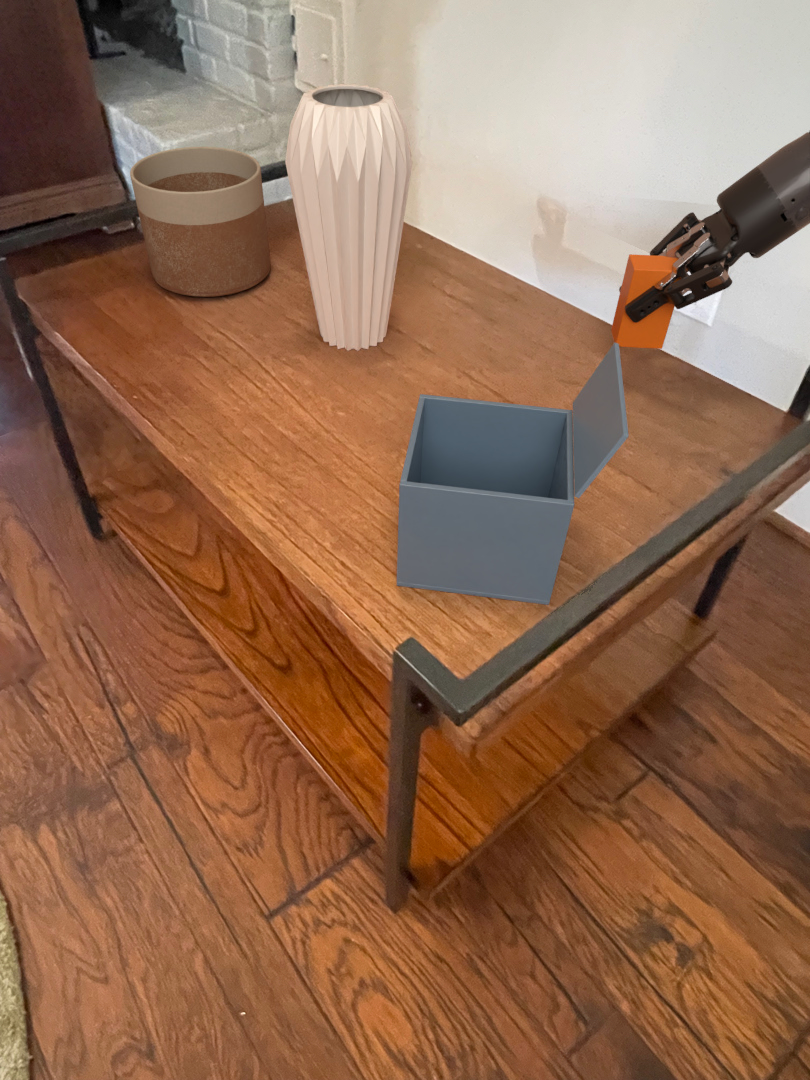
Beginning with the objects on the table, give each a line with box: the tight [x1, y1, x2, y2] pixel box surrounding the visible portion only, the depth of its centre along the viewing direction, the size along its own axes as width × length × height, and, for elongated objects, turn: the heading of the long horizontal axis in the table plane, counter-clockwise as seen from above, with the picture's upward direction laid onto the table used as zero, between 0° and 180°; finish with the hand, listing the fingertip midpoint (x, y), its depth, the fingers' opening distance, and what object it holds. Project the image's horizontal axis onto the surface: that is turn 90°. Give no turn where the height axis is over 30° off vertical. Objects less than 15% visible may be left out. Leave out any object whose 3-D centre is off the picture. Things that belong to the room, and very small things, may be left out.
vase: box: [284, 83, 413, 352], centre depth 84 cm, size 13×13×26 cm
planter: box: [129, 146, 271, 298], centre depth 98 cm, size 16×16×14 cm
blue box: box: [395, 393, 575, 606], centre depth 64 cm, size 13×12×12 cm
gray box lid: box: [572, 342, 629, 499], centre depth 57 cm, size 6×12×1 cm
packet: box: [610, 254, 680, 350], centre depth 82 cm, size 5×4×9 cm
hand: (626, 305), depth 82 cm, fingers closed on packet, 3 cm apart
